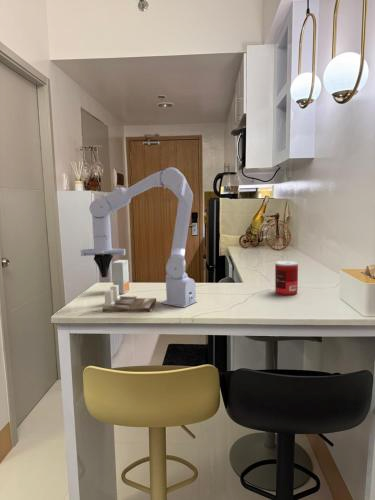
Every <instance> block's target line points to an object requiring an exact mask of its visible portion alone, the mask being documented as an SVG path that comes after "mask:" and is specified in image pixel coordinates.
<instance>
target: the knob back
mask: <svg viewBox="0 0 375 500" xmlns="http://www.w3.org/2000/svg"><path fill="white" fill-rule="evenodd" d="M110 290H113V300H119V299H120V294H119V286H118V285H113V284H111V286H110Z"/></svg>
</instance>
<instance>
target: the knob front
mask: <svg viewBox="0 0 375 500" xmlns="http://www.w3.org/2000/svg"><path fill="white" fill-rule="evenodd" d="M114 304H115V302H114V300H113V290H111V289H106V290H105V291H104V303H103V306H114Z"/></svg>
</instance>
